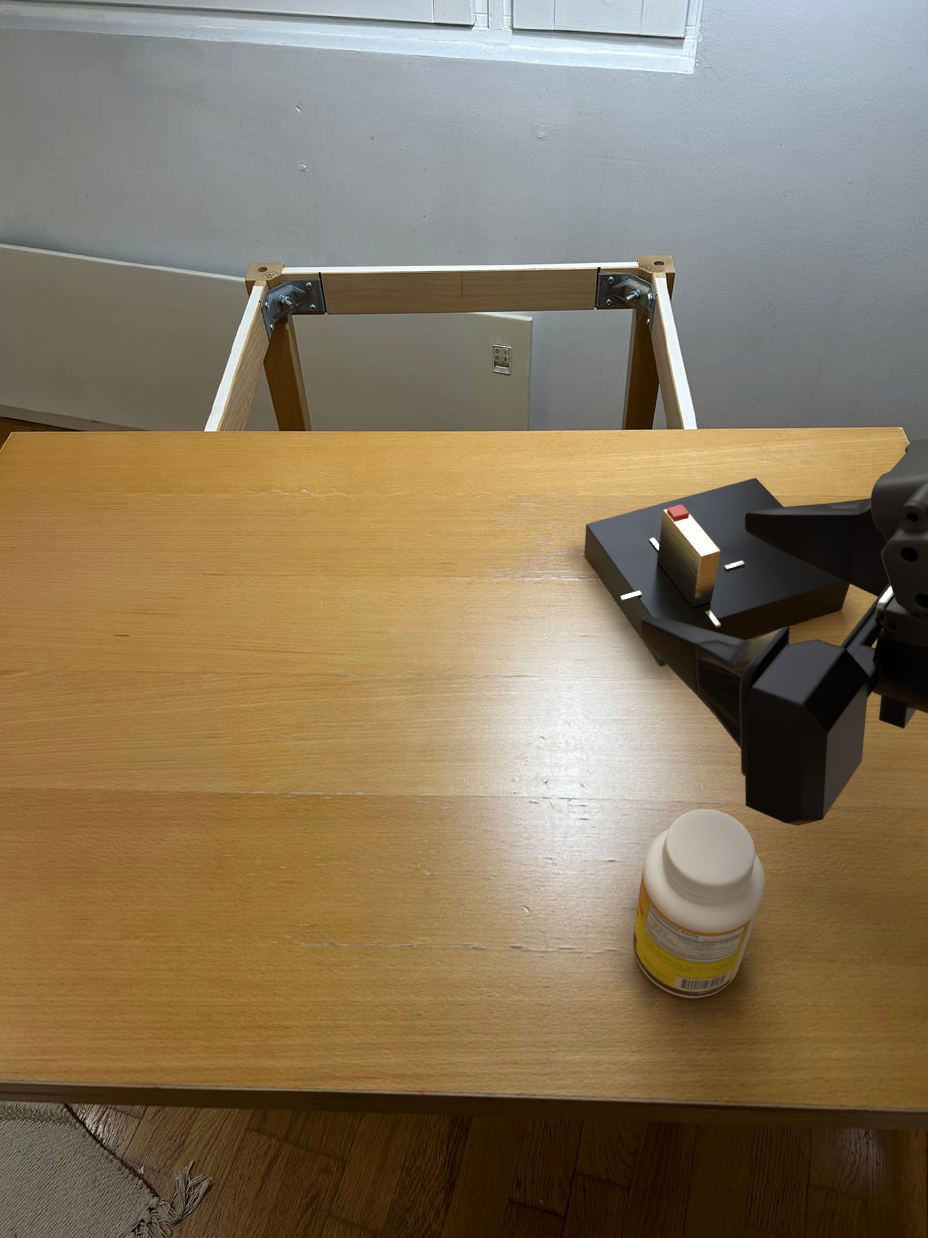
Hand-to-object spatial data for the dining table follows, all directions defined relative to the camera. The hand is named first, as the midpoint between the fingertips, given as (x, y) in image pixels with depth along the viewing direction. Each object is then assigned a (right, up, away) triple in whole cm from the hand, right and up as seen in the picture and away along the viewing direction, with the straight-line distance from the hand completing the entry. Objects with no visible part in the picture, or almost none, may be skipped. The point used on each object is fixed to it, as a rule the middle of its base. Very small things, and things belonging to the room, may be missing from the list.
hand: (697, 570), depth 45 cm
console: (+7, +1, +26) cm, 27 cm away
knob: (+4, 0, +21) cm, 22 cm away
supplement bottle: (+1, -20, +6) cm, 21 cm away
